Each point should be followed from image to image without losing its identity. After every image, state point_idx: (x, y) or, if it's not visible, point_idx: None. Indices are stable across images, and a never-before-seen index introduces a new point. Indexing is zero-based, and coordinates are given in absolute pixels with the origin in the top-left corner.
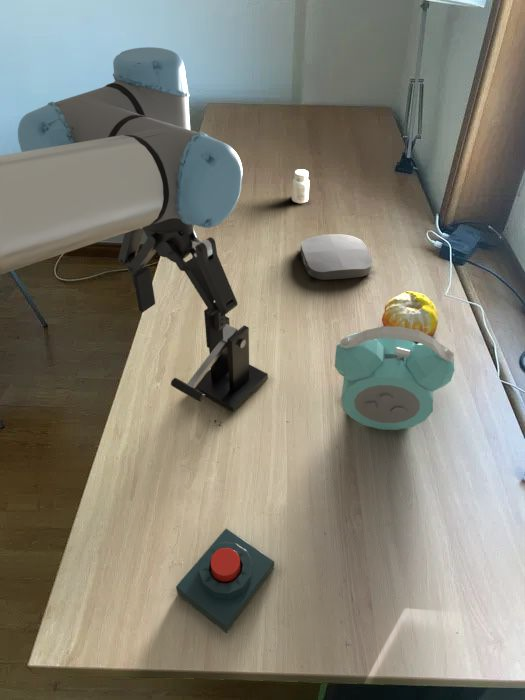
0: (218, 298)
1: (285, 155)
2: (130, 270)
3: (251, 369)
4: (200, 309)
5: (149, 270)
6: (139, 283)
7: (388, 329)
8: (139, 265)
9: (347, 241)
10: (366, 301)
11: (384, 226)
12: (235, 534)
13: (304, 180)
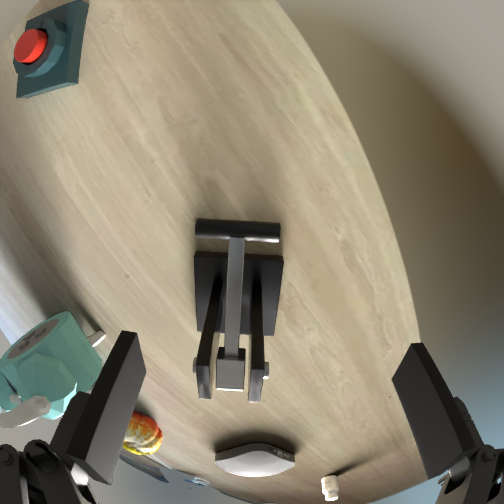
0: (2, 501)
1: (362, 487)
2: (487, 455)
3: (222, 328)
4: (358, 369)
5: (428, 474)
6: (449, 431)
7: (6, 424)
8: (461, 502)
9: (253, 474)
10: (192, 436)
11: (243, 481)
12: (55, 85)
13: (327, 494)
